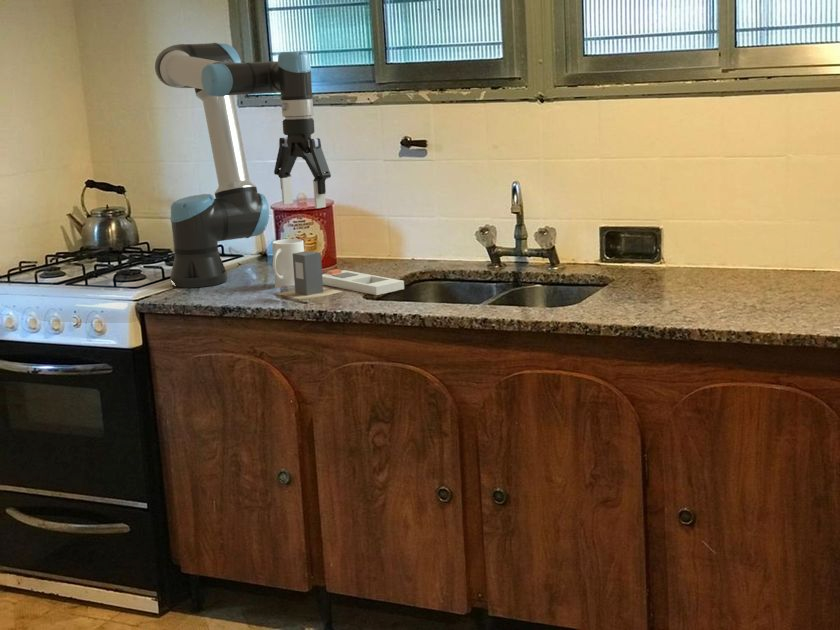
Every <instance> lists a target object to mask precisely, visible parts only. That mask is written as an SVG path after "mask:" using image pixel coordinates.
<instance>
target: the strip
mask: <svg viewBox="0 0 840 630" xmlns="http://www.w3.org/2000/svg"><path fill="white" fill-rule="evenodd" d="M322 279H323V286H330V287H335V288H340V289H344V290H349V291H354V292H358V293H359V292H360V293H363V294H369V295H375V296H379V295H383V294H388V293H393V292H397V291H401V290H405V280H402V279H396V278H389V277H384V276H379V275H373V274H368V273H362V272H357V271H351V270H345V269H344V270H342V269H337V268H335V269H330V270H327V273H322Z"/></svg>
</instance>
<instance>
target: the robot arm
mask: <svg viewBox="0 0 840 630" xmlns="http://www.w3.org/2000/svg"><path fill="white" fill-rule="evenodd" d="M154 70H155V75H156V76H157V78H158V80H159V81H160V82H162V83H163V84H164V85H166V86H168V87H170V88H178V89H194V92H195V97H196V98H198V99H200V100H201V101H202V104H203V108H204V109H203V110H204V116H205V120H206V125H207V131H208V135H209V141H210V146H211V147H210V148H211V152H212V157H213V161H214V162H213V163H214V168H215V173H216V178H217V184H218V188H217V189H215V191H214V196H213V194H211V193H205V194H204V193H203V194H196V195H191V196H186V197H183V198H179V199H177V200H175V201H174V202H172V204H171V206H170V222H171V231H172V240H173V250H174V251H173V252H174V259H173V263H172V264H173V265H172V267H171V271H170V272H171V273H170V281H171V280H172V281H173V282H174V283H175V285H176V286H177V287H176V288H185V289H186V288H189V289H190V288H204V287H210V286H211V287H212V286H217V285H219V284H220V285H221V284H223V283H226V282H227V281H228V273H227V270H226V268H225V265H224V263H223V261H222V258H221V256H220V253H219V246H218V243H219V242H223V241H230V240H237V239H249V238H252V237H257V236H261V235H262V234H263V233H264V231H266V228H267V226H268V223H269V218H270V211H269V210H270V208H269V203H268V200H267V198H266V196H265V195H264V194H262V193H260V192H258V189H257V186H256V184H254V183H252V182H251V179H250V176H249V171H248V166H247V158H246V153H245V150H244V149H245V148H244V144H243V138H242V133H241V128H240V123H239V122H240V121H239V118H238V111H237V106H236V101H235V96H237V95H238V96H239V95H261V94H262V95H263V94H280V103H281V115H282V117H283V118H284V119H282V121H281V122H282V131H283V132H282V133H283V135H285V136H286V137H280V138H279V141H278V144H279V146H278V151H277V156H276V161H275V166H274V170H273V174H274V175H276V176H278V178H279V180H280V188H281V189H280V190H281V198H282V200H281V201H282V202H281V203H282V205H290V204H294V196H293V195H294V193H293V180H292V175H291V172H292V169H293V168H294V166H295V163H296V161H297V159H298V158H301V159H303V160H304V161H305V163H306V164H307V167H308V168H309V170H310V172H311V174H312V176H313V177H314V178H313V180H312V183H313V198H314V209H322V208H327V206H326V205H327V203H326V180H327V179H330V178H331V177H332V175H331V171H330V169H329V165H328V163H327V160H326V157H325V154H324V151H323V148H322V144H321V138H320V137H317V138H313V137H312V135H313V134H314V133H315V120H314V118H313V116H314V112H315V111H314V103H313V102H314V101H313V87H312V86H313V84H312V67H311V59H310V54H309V53H308V52H306V51H286V52H285V51H282V52H280V53H279V54H278V56H277V61H276V60H275V61H273V60H272V61H257V62H256V61H255V62H254V61H253V62H242V60H241V58H240V55H239V52H237V50H236V49H235V48H234V47H233V46H232V45H230V44H228V43H219V42H213V43H212V42H211V43H187V44H184V43H178V44H173V45H171V46H168V47H166V48H164V49H163V50H162V51H160V52H159V54H158V55H157V57H156V59H155V62H154Z"/></svg>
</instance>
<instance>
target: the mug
mask: <svg viewBox="0 0 840 630" xmlns="http://www.w3.org/2000/svg"><path fill="white" fill-rule="evenodd" d="M271 244H272V255H273V259H272V270H273V271H272V272H273V273H274V282H275V283H274V288H275V289H278V288H283V287H293V286H294V287H295V281H294V267H293V253H299V252H304V251H305V247H304V246H305V245H304V240H303V239H300V238H286V239H277V240H274V241H272V243H271Z"/></svg>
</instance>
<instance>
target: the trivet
mask: <svg viewBox="0 0 840 630" xmlns="http://www.w3.org/2000/svg"><path fill="white" fill-rule="evenodd" d="M343 292H344V291H342V290H338V289H333V288H328V287H324V286H323V292H322V293H317V294H312V295H308V296H307V295H302V294H298V293H295V289H292V290H286V291H282V292H277V293H276V295H275V298H276V299H282V300H285V301H289V302H294V303H298V304H302V305H303V304H304V305H305V304H309V302H308V300H311V299H316V298H321V297H324V296H325V297H326V296H331V295H334V294H339V293H343Z"/></svg>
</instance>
